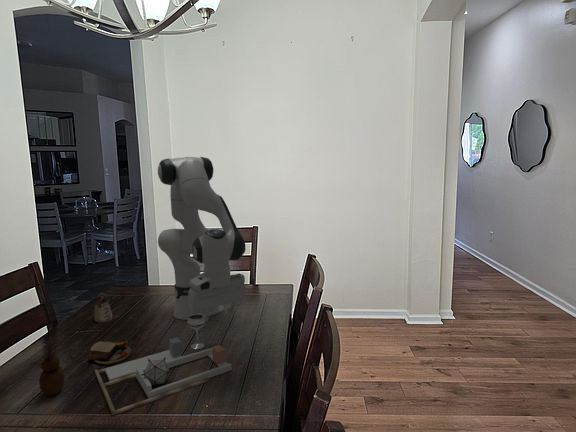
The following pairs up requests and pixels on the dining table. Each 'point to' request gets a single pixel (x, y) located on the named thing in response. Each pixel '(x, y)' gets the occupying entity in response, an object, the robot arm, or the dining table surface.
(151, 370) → the game die
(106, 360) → the toy sandwich meal
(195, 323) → the wineglass
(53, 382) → the wooden figurine
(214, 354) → the grey rectangular frame
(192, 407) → the dining table surface
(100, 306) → the figurine
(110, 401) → the lane rails
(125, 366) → the inner strip
